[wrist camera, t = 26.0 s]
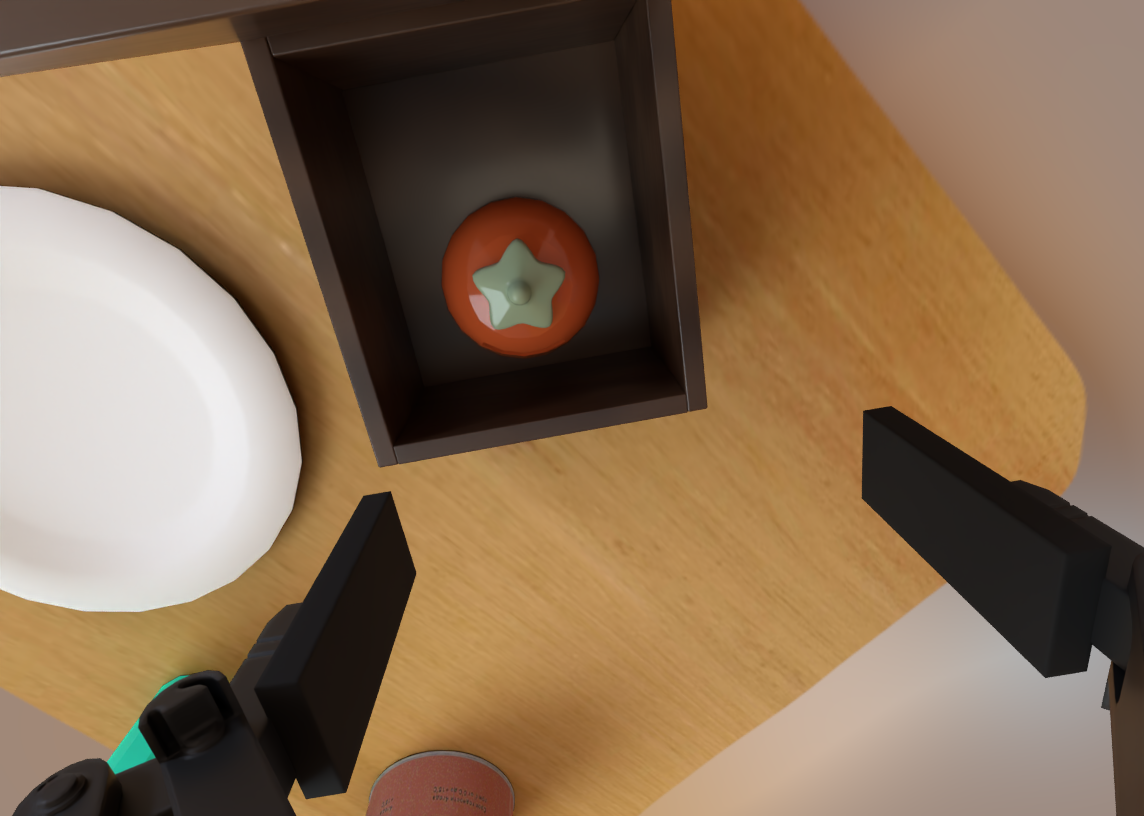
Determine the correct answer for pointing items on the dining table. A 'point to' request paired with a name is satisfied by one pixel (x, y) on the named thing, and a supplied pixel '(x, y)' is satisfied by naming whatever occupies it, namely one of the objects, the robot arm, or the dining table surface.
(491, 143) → the dark wooden box
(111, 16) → the lid
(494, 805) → the canned food
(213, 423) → the plate
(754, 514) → the dining table surface
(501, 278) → the tomato
